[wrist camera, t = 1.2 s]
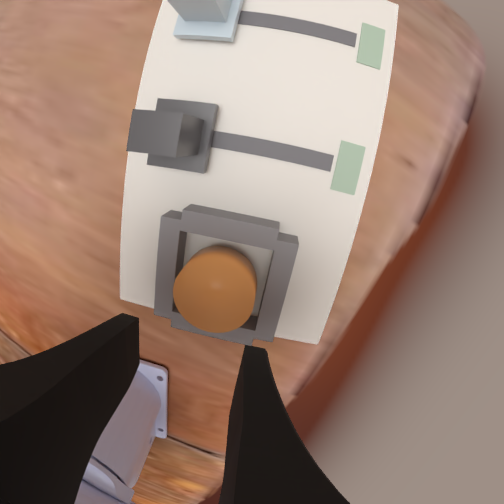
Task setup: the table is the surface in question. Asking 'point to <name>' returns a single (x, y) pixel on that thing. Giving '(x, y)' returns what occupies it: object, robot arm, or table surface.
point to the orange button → (216, 289)
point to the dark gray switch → (174, 134)
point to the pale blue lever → (206, 19)
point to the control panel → (263, 158)
